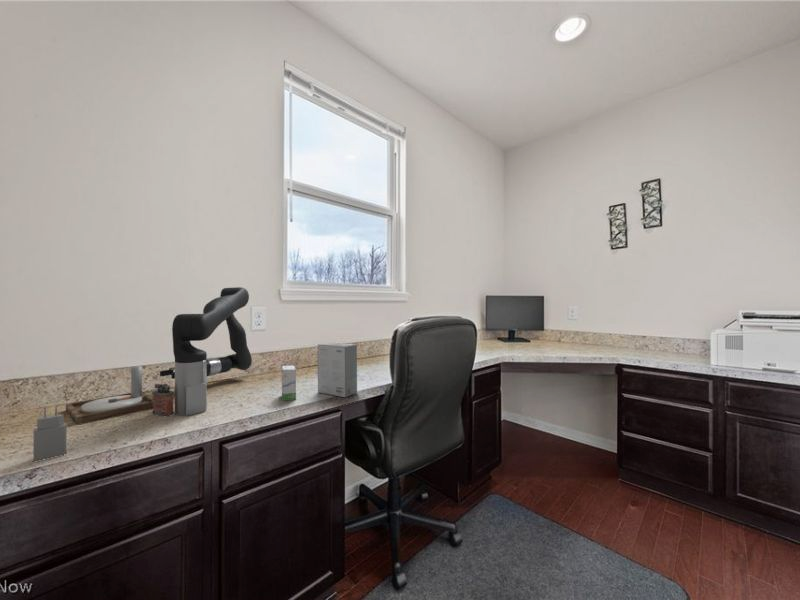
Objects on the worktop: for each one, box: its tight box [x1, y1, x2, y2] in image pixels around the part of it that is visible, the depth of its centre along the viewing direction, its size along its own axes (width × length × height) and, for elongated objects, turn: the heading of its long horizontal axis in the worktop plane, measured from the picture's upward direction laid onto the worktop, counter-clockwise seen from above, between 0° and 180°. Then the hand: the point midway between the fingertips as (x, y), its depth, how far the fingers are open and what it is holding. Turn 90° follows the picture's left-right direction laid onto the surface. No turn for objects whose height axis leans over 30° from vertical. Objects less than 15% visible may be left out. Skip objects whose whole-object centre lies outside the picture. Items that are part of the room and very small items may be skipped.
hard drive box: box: [317, 342, 358, 398], centre depth 135 cm, size 16×8×20 cm, turn 58°
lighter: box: [151, 383, 175, 417], centre depth 110 cm, size 8×3×10 cm, turn 71°
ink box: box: [281, 365, 297, 402], centre depth 129 cm, size 8×5×12 cm, turn 22°
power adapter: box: [32, 405, 68, 462], centre depth 80 cm, size 3×5×12 cm, turn 134°
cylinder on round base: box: [81, 365, 143, 414], centre depth 115 cm, size 16×16×12 cm
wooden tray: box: [65, 391, 153, 426], centre depth 115 cm, size 21×21×2 cm
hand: (166, 375), depth 130 cm, fingers open, 8 cm apart
